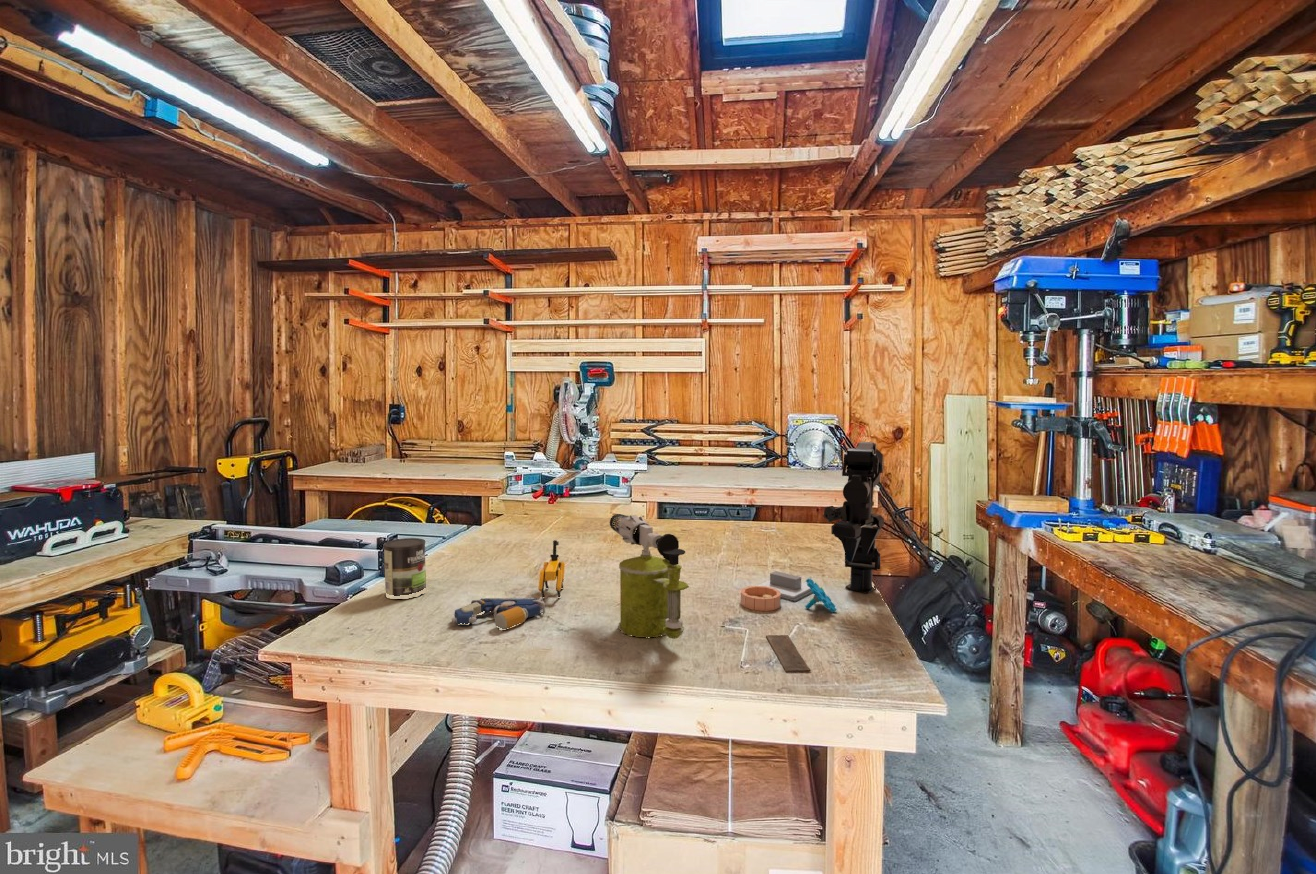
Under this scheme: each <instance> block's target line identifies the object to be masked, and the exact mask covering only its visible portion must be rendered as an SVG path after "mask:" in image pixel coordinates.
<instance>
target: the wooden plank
mask: <svg viewBox="0 0 1316 874" xmlns="http://www.w3.org/2000/svg"><path fill="white" fill-rule="evenodd" d="M765 637H766V639H767V642H768V643H769V645H770V647H771V649H772V651H773V653H774V654H775V656H776V657H777V659H778V661H779V663H780V664H781V666H782V668H783V670H784V671H785V673H811V672H812V670H811V668H810V667H809V666H808V664H807V663H806V661H805V660H804V658H803V657H802V655H801V653H800V652H799V651H798V649H797V647H796V645H795V643H794V642H793V640H792V639H791V638H790V636H789V635H788V634H781V635H780V634H779V635H777V634H774V635H773V634H770V635H769V634H768V635H767V634H766V635H765Z"/></svg>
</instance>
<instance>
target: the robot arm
mask: <svg viewBox="0 0 1316 874" xmlns="http://www.w3.org/2000/svg"><path fill="white" fill-rule="evenodd" d="M856 444H857V445H856V447H855V448H852V447H849V448H847V449H846V452H845V451H844V452H843V453H844V454H843V463H842V470H841V471H842V472H841V476H842V477H848V478H847V482H846V483H845V485H844V486H843V489H842V495H843V498H844V499H845V501H843V503H842V506H838V507H834V506H833V505H830V506H826V507H824V511H823V515H822V517H823V518H824V519H826V520H827V523H832V522H835V521H838V520H840V521H838V522H835V523H834V524H832V525H831V530H830V531H831V532H830V534H831V535H833V536H834V537H835V538H838V540H839V541H840V542H841V544H842V547H843V550H844V567H846V568H850V575H849V576H850V579H849V580H850V582H849V584H847V585H845V589H847V590H851V591H856V592H859V593H865V594H870V593H871V592H873V591H874V590H876V589H877V587H878V586H877V585H873V571H878V570H881V553H880V552H879V550H878V549H879V548H877V547H876V546H877V545H876V538H877V536H878V535H879V533H880V531H881V530H882V528H883V527H884V526H885V518H884V517H883V516H882V514H876V513H873V506H874V505H875V502H874V491H875V489H874V488H875V487H876V486H877V485H878V484H879V482H880V481H881V474H884V454H883V453H882V452H881V451H880V450H879V449H878V448H877V443H874V442H872V441H871V442H870V441H869V442H868V441H867V442H865V441H860V442H857V443H856ZM872 585H873V586H874V588H875V589H874V588H873V587H872Z"/></svg>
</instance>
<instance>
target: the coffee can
mask: <svg viewBox="0 0 1316 874" xmlns="http://www.w3.org/2000/svg"><path fill="white" fill-rule="evenodd" d="M383 550H384V551H383V555H384V556H383V557H384V583H385V584H384V586H385V590H384V591H386V593H387V594H389V595H394V596H400V595H409V594H412V593H416V592H419V591H421V590H423V589H424V588H426V589H427V580H426V579H427V576H426V573H427V572H426V571H427V570H426V540H425V539H423V538H418V537H417V538H416V537H407V538H404V537H403V538H399V539H393V540H392V539H391V540H387V542H385V543H383Z"/></svg>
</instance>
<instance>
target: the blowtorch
mask: <svg viewBox="0 0 1316 874" xmlns="http://www.w3.org/2000/svg"><path fill="white" fill-rule="evenodd" d="M609 526H610V528H611V529H612V530H613V531H614V532H616V533H617V534H618V535H620V537H622V541H623V542H625V543H626V544H630V545H633V546H634V545H638V546H642V547H643V549H641V554H639V555H640V556H634V557H628V558H627V559H624V560H622V561H620V562H619V564H618V567H619V569H620V575H619V576H620V578H619V579H620V582H619V583H620V585H619V586H620V590H619V591H620V592H619V593H620V595H619V597H620V604H619V605H620V609H619V610H620V621H619V622H618V630H619V629H620V630H621V631H622V632H623V633H624V634H623V633H622V632H621V633H622V634H623V635H625V634H627V635H626V636H628V635H632V636H636V637H647V638H646V639H649V638H648V637H656V638H659V637H658V636H660V637H662V636H661V635H665V636H667V637H668V638H669V639H673V640H675V639H678V638H679V637H681V636H682V634H683V633H684V632H683V631H684V630H685V629H686V628H685V627H684V626H683V618H681V616H682V615H681V609H682V608H681V603H682V602H681V597H682V596H681V592H682V591H684V590H686V589H688V588H689V587H690V586H689V584H688V583H686V582H684V581H682V580H680V579H681V569H683V567H682V566H681V565H680V564H679V560H680V559H679V556H682V555H684V554H686V551H685V550H684V549H682V548H679V546H680V545H679V544H680V543H679V540H678V537H677V536H675V535H674V534H671V533H665V534H663V535H661V534H659V533H654V530H653V527H652V526H651V525H650V524H648V523H647V521H646V520H645V519H644V518H643V517H642V516H637V514H634V515H633V514H631V515H625V514H621V513H616V514H613V515H612V516H611V518H610V519H609ZM651 547H652V548H654V549H656V550H657V551H658V553H659V554H660V555H661V556H662V557H659V556H654V555H652V554H651V549H649V548H651ZM620 630H619V631H620ZM636 637H635V638H636Z"/></svg>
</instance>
